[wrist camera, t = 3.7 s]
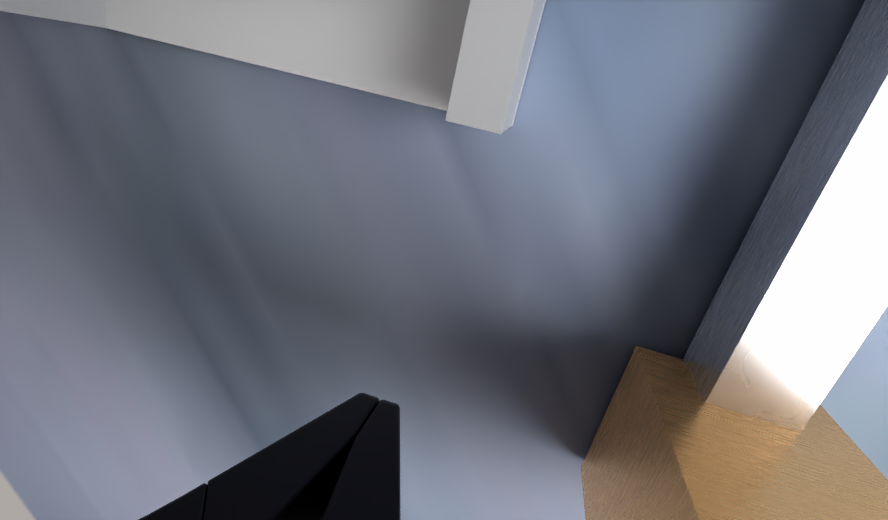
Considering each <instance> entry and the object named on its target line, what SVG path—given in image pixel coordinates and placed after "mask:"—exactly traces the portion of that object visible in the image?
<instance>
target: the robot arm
mask: <svg viewBox="0 0 888 520" xmlns="http://www.w3.org/2000/svg"><path fill="white" fill-rule="evenodd" d="M139 520H400V407H399V405H398V404H395V403H392V402H389V401H386V400H380V401H379V399H378V398H377V397H374V396H371V395H368V394H365V393H359V394H357V395H356V396H354V397H352V398H350V399H349V400H347V401H345V402H344V403H342V404H340V405H338V406H337V407H335V408H333V409H331V410H330V411H328V412H326V413H325V414H323V415H321V416H319V417H318V418H316V419H314V420H313V421H311V422H309V423H307V424H306V425H304V426H302V427H300V428H299V429H297V430H295V431H294V432H292V433H290V434H288V435H287V436H285V437H283V438H282V439H280V440H278V441H276V442H275V443H273V444H271V445H269V446H268V447H266V448H264V449H263V450H261V451H259V452H257V453H256V454H254V455H252V456H251V457H249V458H247V459H245V460H244V461H242V462H240V463H238V464H237V465H235V466H233V467H232V468H230V469H228V470H226V471H225V472H223V473H221V474H220V475H218V476H216V477H214V478H213V479H211V480H209V481H208V484H205V483H204V484H202V485H200V486H199V487H197V488H195V489H193V490H192V491H190V492H188V493H186V494H185V495H183V496H181V497H179V498H178V499H176V500H174V501H172V502H170V503H168V504H167V505H165V506H163V507H161V508H159V509H158V510H156V511H154V512H152V513H150V514H149V515H147V516H145V517H143V518H141V519H139Z"/></svg>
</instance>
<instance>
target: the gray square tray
mask: <svg viewBox="0 0 888 520" xmlns="http://www.w3.org/2000/svg"><path fill="white" fill-rule="evenodd" d="M545 3H546V0H0V11H4V12H10V13H16V14H22V15H28V16H34V17H41V18H47V19H53V20H59V21H65V22H71V23H78V24H84V25H90V26H96V27H102V28H108V29H112V30H116V31H120V32H124V33H128V34H132V35H136V36H141V37H145V38H149V39H153V40H157V41H161V42H165V43H169V44H173V45H178V46H182V47H186V48H190V49H194V50H198V51H202V52H206V53H210V54H215V55H219V56H223V57H227V58H231V59H235V60H239V61H243V62H247V63H252V64H256V65H260V66H264V67H268V68H272V69H276V70H280V71H284V72H289V73H293V74H297V75H301V76H305V77H309V78H313V79H317V80H321V81H326V82H330V83H334V84H338V85H342V86H346V87H350V88H354V89H358V90H363V91H367V92H371V93H375V94H379V95H383V96H387V97H391V98H395V99H400V100H404V101H408V102H412V103H416V104H420V105H424V106H428V107H432V108H437V109H441V110H445V111H447V115H446V120H445V121H449V122H453V123H457V124H461V125H465V126H469V127H473V128H477V129H481V130H486V131H490V132H494V133H498V134H501V133H503V132H504V131H505V130H507V129H508V128H509V127H511V126H512V125H513V123H514V120H515V116H516V112H517V108H518V105H519V101H520V97H521V93H522V89H523V86H524V82H525V78H526V74H527V71H528V67H529V63H530V59H531V55H532V52H533V48H534V44H535V40H536V37H537V33H538V29H539V25H540V21H541V18H542V14H543V10H544V6H545Z"/></svg>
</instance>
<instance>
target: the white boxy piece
mask: <svg viewBox="0 0 888 520" xmlns="http://www.w3.org/2000/svg"><path fill="white" fill-rule="evenodd" d="M887 306H888V0H865V2H864V3H863V5H862V7H861V9H860V11H859V13H858V15H857V17H856V19H855V21H854V23H853V25H852V27H851V29H850V31H849V33H848V35H847V37H846V39H845V41H844V43H843V45H842V47H841V49H840V51H839V53H838V55H837V57H836V59H835V61H834V63H833V65H832V67H831V68H830V70H829V72H828V74H827V76H826V78H825V80H824V82H823V84H822V86H821V88H820V90H819V92H818V94H817V96H816V98H815V100H814V102H813V104H812V106H811V108H810V110H809V112H808V114H807V116H806V118H805V120H804V122H803V124H802V126H801V128H800V130H799V132H798V133H797V135H796V137H795V139H794V141H793V143H792V145H791V147H790V149H789V151H788V153H787V155H786V157H785V159H784V161H783V163H782V165H781V167H780V169H779V171H778V173H777V175H776V177H775V179H774V181H773V183H772V185H771V187H770V189H769V191H768V193H767V195H766V197H765V198H764V200H763V202H762V204H761V206H760V208H759V210H758V212H757V214H756V216H755V218H754V220H753V222H752V224H751V226H750V228H749V230H748V232H747V234H746V236H745V238H744V240H743V242H742V244H741V246H740V248H739V250H738V252H737V254H736V256H735V258H734V260H733V262H732V263H731V265H730V267H729V269H728V271H727V273H726V275H725V277H724V279H723V281H722V283H721V285H720V287H719V289H718V291H717V293H716V295H715V297H714V299H713V301H712V303H711V305H710V307H709V309H708V311H707V313H706V315H705V317H704V319H703V321H702V323H701V325H700V327H699V329H698V330H697V332H696V334H695V336H694V338H693V340H692V342H691V344H690V346H689V348H688V350H687V352H686V354H685V356H684V358H683V359H680V358H676V357H673V356H670V355H666V354H663V353H659V352H656V351H653V350H649V349H646V348H643V347H639V346H636V347H635V349H634V351H633V354H632V356H631V358H630V360H629V362H628V365H627V367H626V369H625V371H624V373H623V376H622V378H621V380H620V382H619V385H618V387H617V389H616V391H615V393H614V396H613V398H612V400H611V402H610V404H609V407H608V409H607V411H606V413H605V416H604V418H603V420H602V422H601V424H600V427H599V429H598V431H597V433H596V435H595V438H594V440H593V442H592V444H591V446H590V449H589V451H588V453H587V455H586V458H585V460H584V462H583V464H582V466H581V474H582V485H583V496H584V507H585V518H586V520H888V480H887V479H886V478H885V477H884V476H883V475H882V473H881V472H880V471H879V470H878V469H877V468H876V467H875V466H874V464H873V463H872V462H871V461H870V460H869V459H868V458H867V457H866V456H865V454H864V453H863V452H862V451H861V450H860V449H859V448H858V447H857V445H856V444H855V443H854V442H853V441H852V440H851V439H850V438H849V437H848V435H847V434H846V433H845V432H844V431H843V430H842V429H841V428H840V426H839V425H838V424H837V423H836V422H835V421H834V420H833V419H832V418H831V416H830V415H829V414H828V413H827V412H826V411H825V410H824V409H823V407H822V406H821V405H820V404H821V402H822V401H823V399H824V398H825V396H826V395H827V393H828V392H829V390H830V389H831V387H832V386H833V385H834V383H835V382H836V380H837V379H838V377H839V376H840V374H841V373H842V371H843V370H844V368H845V367H846V366H847V364H848V363H849V361H850V360H851V358H852V357H853V355H854V354H855V352H856V351H857V349H858V348H859V346H860V345H861V344H862V342H863V341H864V339H865V338H866V336H867V335H868V333H869V332H870V330H871V329H872V327H873V326H874V325H875V323H876V322H877V320H878V319H879V317H880V316H881V314H882V313H883V311H884V310H885V308H886V307H887Z"/></svg>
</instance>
